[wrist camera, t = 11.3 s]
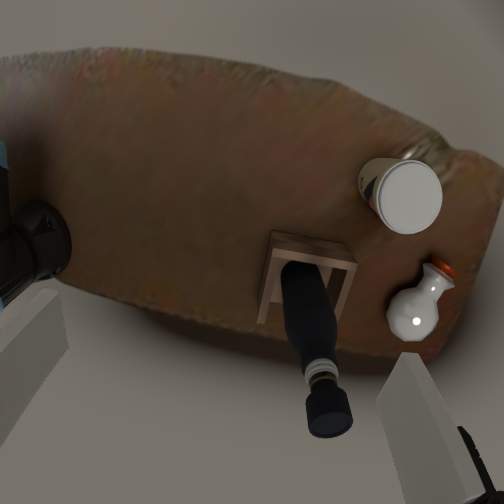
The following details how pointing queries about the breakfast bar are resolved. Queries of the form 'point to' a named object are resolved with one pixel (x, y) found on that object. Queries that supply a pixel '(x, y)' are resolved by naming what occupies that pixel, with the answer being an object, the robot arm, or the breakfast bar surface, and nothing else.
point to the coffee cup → (401, 193)
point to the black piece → (315, 347)
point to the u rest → (310, 251)
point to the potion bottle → (420, 303)
